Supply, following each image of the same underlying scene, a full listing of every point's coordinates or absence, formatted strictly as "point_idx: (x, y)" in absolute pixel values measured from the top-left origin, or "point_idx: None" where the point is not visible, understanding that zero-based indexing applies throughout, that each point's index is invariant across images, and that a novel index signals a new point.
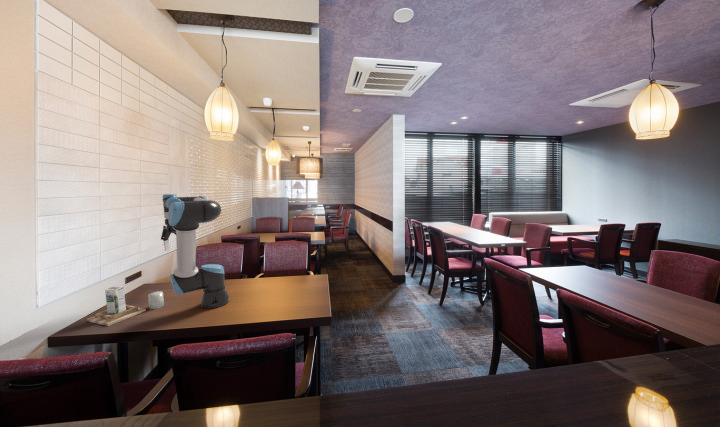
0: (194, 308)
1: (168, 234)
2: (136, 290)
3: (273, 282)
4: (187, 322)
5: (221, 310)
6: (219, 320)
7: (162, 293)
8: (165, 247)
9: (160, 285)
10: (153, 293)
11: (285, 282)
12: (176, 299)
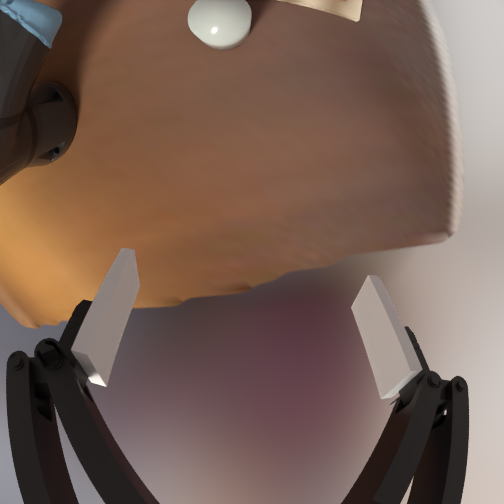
0: (71, 66)
1: (371, 480)
2: (441, 178)
3: (47, 287)
4: None
5: None
6: None
7: (191, 30)
8: (381, 304)
9: (396, 226)
10: (231, 14)
11: (29, 288)
12: (206, 100)
